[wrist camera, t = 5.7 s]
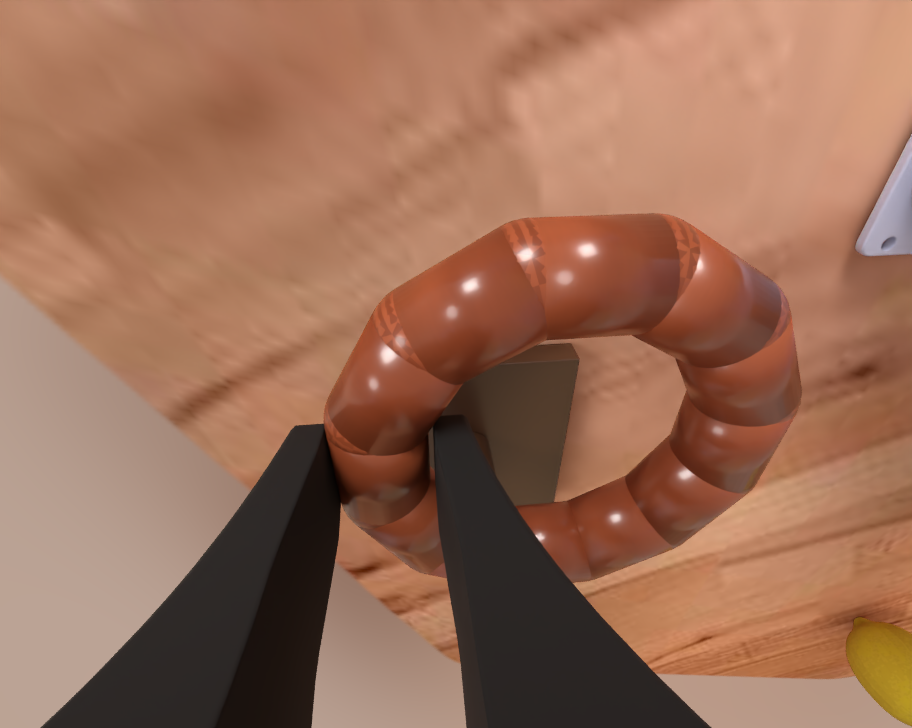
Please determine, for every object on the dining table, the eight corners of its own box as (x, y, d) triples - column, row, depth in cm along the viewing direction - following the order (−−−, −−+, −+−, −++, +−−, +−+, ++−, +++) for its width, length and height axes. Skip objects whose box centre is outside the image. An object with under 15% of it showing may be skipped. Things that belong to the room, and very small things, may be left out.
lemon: (854, 599, 37) (951, 720, 31) (907, 601, 38) (1010, 718, 32) (808, 633, 40) (887, 750, 34) (858, 634, 41) (944, 747, 35)
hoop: (836, 190, 9) (939, 229, 7) (684, 518, 14) (722, 582, 13) (294, 208, 8) (267, 258, 6) (362, 548, 13) (358, 621, 12)
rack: (571, 342, 20) (624, 439, 15) (548, 484, 25) (582, 588, 20) (353, 356, 19) (339, 462, 14) (377, 499, 24) (372, 610, 20)
